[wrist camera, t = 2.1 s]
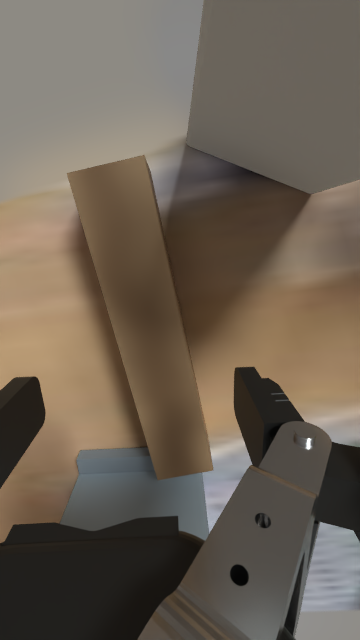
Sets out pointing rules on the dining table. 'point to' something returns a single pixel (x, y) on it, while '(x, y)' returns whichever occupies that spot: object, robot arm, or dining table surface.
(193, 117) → the soap bottle
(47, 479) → the dining table surface
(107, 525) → the fulcrum ridge
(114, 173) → the walnut bar
